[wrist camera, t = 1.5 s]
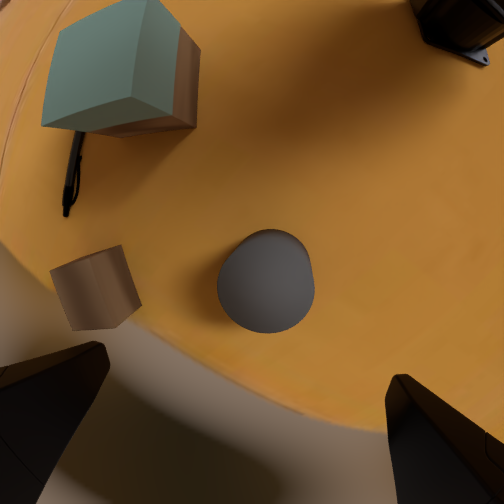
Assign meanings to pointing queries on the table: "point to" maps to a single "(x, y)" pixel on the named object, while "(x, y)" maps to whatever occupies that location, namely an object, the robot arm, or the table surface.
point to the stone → (267, 282)
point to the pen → (72, 173)
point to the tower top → (113, 68)
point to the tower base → (182, 98)
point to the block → (96, 290)
